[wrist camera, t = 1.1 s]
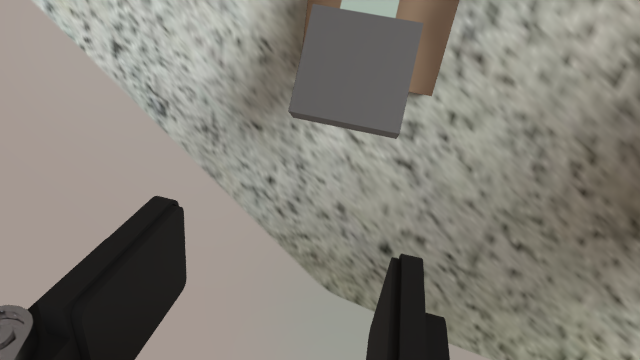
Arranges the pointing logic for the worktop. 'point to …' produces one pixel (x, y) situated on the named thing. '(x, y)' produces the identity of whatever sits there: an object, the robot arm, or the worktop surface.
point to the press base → (437, 17)
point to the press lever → (356, 67)
